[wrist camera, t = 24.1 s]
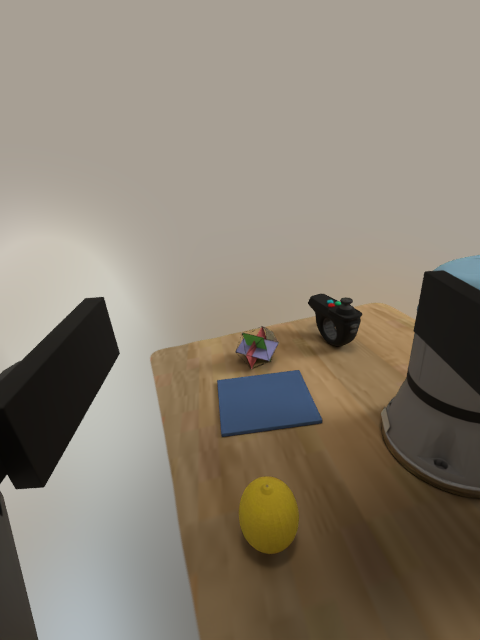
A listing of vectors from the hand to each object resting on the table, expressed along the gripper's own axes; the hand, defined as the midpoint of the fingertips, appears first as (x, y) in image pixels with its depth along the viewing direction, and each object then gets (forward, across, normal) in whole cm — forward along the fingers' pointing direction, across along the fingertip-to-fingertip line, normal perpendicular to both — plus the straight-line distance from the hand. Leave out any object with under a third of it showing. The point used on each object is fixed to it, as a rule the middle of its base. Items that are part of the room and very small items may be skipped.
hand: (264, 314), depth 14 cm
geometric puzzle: (+38, +1, -28) cm, 47 cm away
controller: (+43, +16, -28) cm, 54 cm away
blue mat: (+27, +1, -28) cm, 39 cm away
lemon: (+7, 0, -28) cm, 29 cm away
